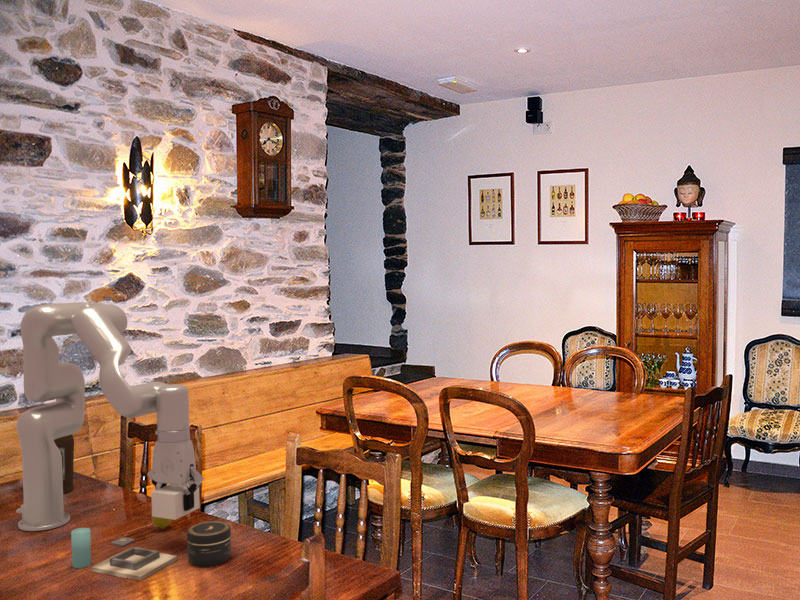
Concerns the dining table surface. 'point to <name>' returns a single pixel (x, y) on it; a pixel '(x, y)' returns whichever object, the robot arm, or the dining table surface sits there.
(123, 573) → the board
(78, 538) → the peg
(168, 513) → the block
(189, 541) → the jar
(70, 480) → the olive oil
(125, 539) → the tile
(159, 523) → the lemon
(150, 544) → the dining table surface
